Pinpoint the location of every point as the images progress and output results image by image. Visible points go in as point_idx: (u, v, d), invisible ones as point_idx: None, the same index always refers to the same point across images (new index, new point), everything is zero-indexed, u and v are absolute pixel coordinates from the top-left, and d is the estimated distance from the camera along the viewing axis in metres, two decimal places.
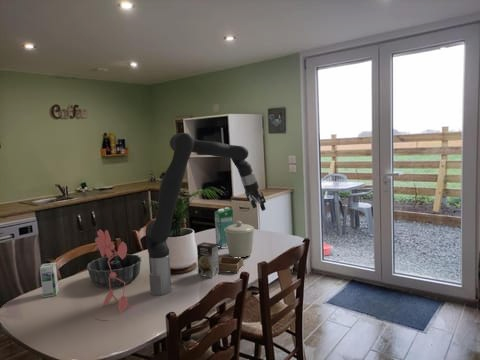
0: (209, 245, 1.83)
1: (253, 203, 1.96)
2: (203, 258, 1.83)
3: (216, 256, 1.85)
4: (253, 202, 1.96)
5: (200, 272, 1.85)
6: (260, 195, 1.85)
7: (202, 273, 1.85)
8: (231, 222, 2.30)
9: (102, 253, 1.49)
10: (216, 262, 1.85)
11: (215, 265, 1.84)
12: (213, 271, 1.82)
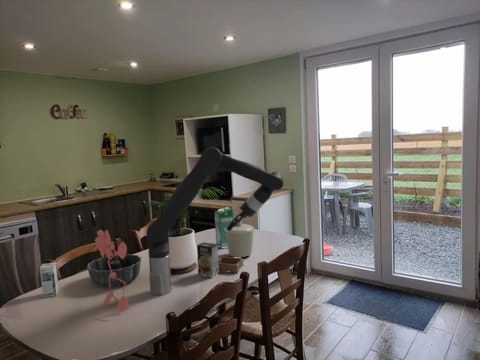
0: (209, 245, 1.83)
1: None
2: (203, 258, 1.83)
3: (216, 256, 1.85)
4: None
5: (200, 272, 1.85)
6: (238, 217, 1.69)
7: (202, 273, 1.85)
8: None
9: (102, 253, 1.49)
10: (216, 262, 1.85)
11: (215, 265, 1.84)
12: (213, 271, 1.82)
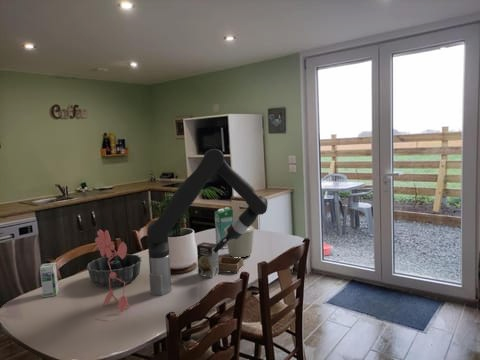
0: (209, 245, 1.83)
1: None
2: (203, 258, 1.83)
3: (216, 256, 1.85)
4: None
5: (200, 272, 1.85)
6: (223, 240, 1.74)
7: (202, 273, 1.85)
8: (231, 222, 2.30)
9: (102, 253, 1.49)
10: (216, 262, 1.85)
11: (215, 265, 1.84)
12: (213, 271, 1.82)
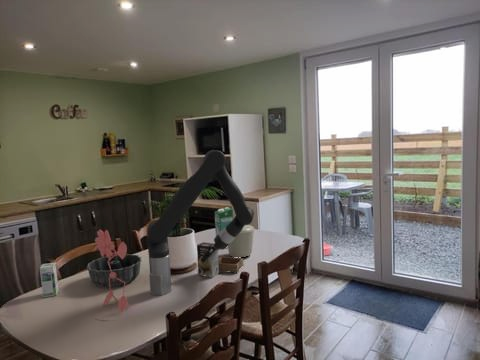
0: (209, 245, 1.83)
1: None
2: None
3: (216, 256, 1.85)
4: None
5: (200, 272, 1.85)
6: (210, 250, 1.77)
7: (202, 273, 1.85)
8: None
9: (102, 253, 1.49)
10: (216, 262, 1.85)
11: (215, 265, 1.84)
12: (213, 271, 1.82)
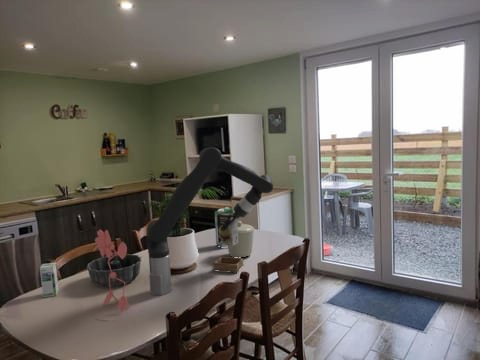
0: (229, 214, 1.88)
1: None
2: None
3: (235, 225, 1.90)
4: None
5: (220, 241, 1.91)
6: (230, 218, 1.82)
7: (222, 242, 1.90)
8: None
9: (102, 253, 1.49)
10: (235, 231, 1.90)
11: (235, 233, 1.89)
12: (233, 239, 1.88)
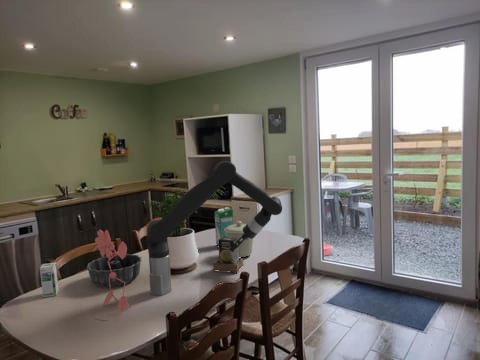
0: (230, 239, 1.90)
1: None
2: (225, 252, 1.89)
3: (237, 249, 1.92)
4: None
5: None
6: (240, 239, 1.82)
7: None
8: (231, 222, 2.30)
9: (102, 253, 1.49)
10: (236, 255, 1.91)
11: (236, 258, 1.91)
12: None
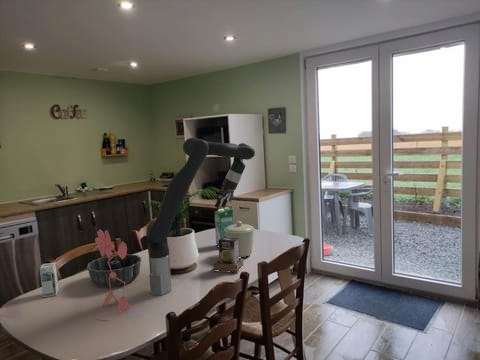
0: (230, 239, 1.90)
1: (224, 202, 1.96)
2: (225, 252, 1.89)
3: (237, 249, 1.92)
4: (225, 201, 1.96)
5: None
6: (221, 190, 1.85)
7: None
8: (231, 222, 2.30)
9: (102, 253, 1.49)
10: (237, 255, 1.91)
11: (236, 258, 1.91)
12: None
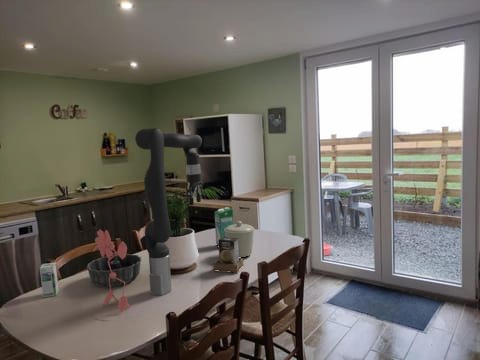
0: (230, 239, 1.90)
1: (197, 197, 1.95)
2: (225, 252, 1.89)
3: (237, 249, 1.92)
4: (198, 196, 1.94)
5: None
6: (187, 188, 1.84)
7: None
8: (231, 222, 2.30)
9: (102, 253, 1.49)
10: (237, 255, 1.91)
11: (236, 258, 1.91)
12: None
